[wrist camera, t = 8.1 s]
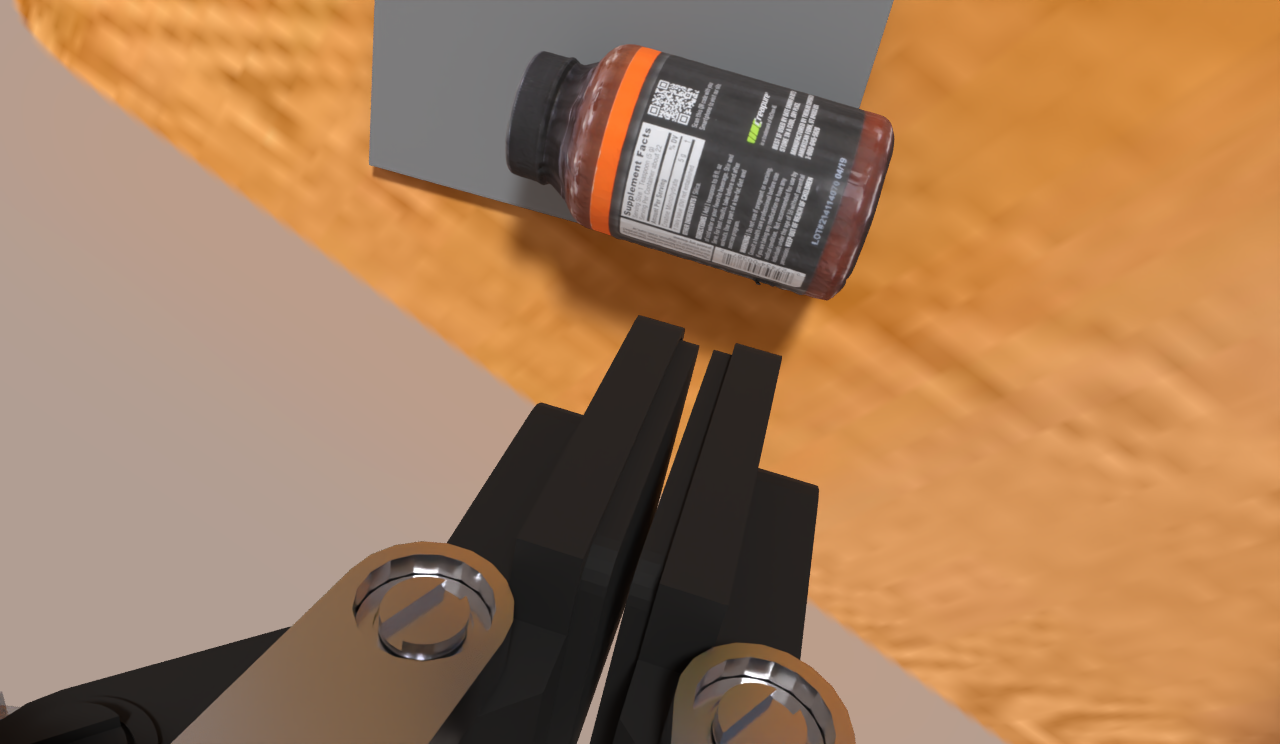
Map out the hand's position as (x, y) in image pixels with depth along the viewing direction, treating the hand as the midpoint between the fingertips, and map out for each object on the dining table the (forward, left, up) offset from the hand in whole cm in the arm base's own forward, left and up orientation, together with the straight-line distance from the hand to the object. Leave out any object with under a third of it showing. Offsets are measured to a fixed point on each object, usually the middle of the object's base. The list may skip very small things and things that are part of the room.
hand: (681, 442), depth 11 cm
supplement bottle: (-3, +3, -19) cm, 20 cm away
